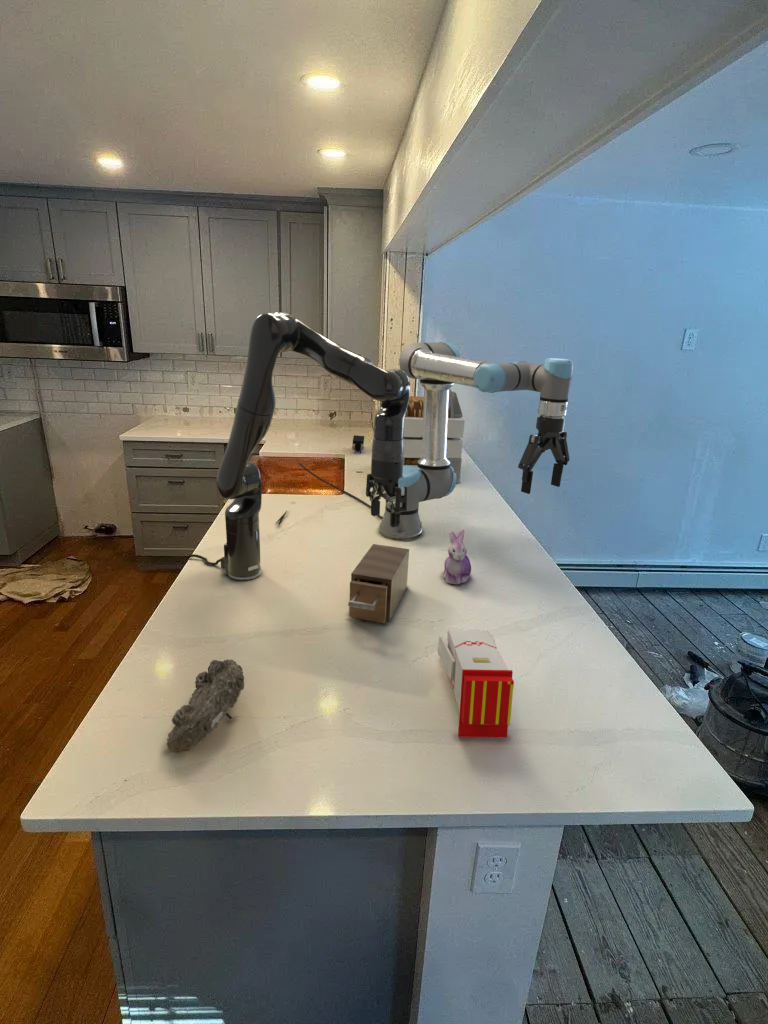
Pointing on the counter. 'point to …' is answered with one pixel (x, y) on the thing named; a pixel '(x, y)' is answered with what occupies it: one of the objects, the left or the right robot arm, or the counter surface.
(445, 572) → the figurine
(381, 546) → the cabinet
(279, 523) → the feather
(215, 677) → the fossil
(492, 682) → the toy
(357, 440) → the figurine character
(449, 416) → the white tiered storage organizer
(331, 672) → the counter surface
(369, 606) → the drawer
